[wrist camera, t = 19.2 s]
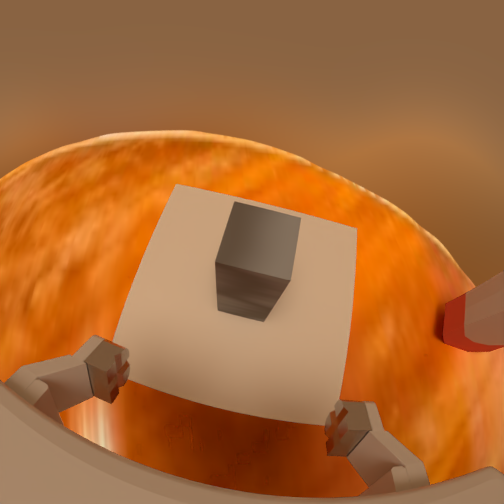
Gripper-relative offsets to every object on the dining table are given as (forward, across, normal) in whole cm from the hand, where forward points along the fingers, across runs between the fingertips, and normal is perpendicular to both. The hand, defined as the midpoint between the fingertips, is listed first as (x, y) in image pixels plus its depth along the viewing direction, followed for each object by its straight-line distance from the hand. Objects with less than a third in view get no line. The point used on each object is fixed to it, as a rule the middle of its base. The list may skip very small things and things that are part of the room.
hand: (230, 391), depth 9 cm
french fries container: (+20, -29, +6) cm, 36 cm away
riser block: (+18, +1, +7) cm, 19 cm away
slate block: (+14, 0, +3) cm, 15 cm away
